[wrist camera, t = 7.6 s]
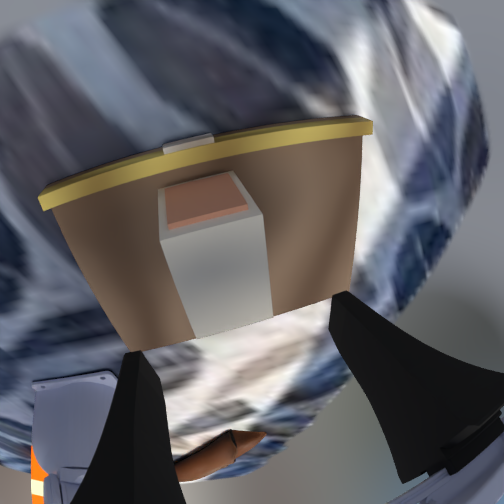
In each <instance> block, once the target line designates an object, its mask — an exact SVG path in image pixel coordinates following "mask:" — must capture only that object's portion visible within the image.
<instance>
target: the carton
mask: <svg viewBox="0 0 504 504" xmlns="http://www.w3.org/2000/svg"><path fill="white" fill-rule="evenodd" d="M158 215H159V238H160V243H161V246H162V249H163V252H164V255H165V258H166V261H167V264H168V266H169V269H170V272H171V275H172V277H173V280H174V283H175V286H176V288H177V291H178V293H179V296H180V299H181V301H182V304H183V306H184V309H185V312H186V314H187V317H188V319H189V322H190V324H191V327H192V329H193V331H194V334H195V336H196V339H199V338H203V337H207V336H211V335H214V334H218V333H222V332H225V331H229V330H232V329H236V328H239V327H243V326H246V325H250V324H253V323H257V322H260V321H263V320H266V319H270V318H273V309H272V299H271V289H270V278H269V269H268V259H267V249H266V239H265V230H264V220H263V214H262V212H261V211H260V209H259V208H258V206H257V205H256V203H255V202H254V200H253V199H252V197H251V196H250V195H249V193H248V192H247V190H246V189H245V187H244V186H243V184H242V183H241V181H240V180H239V178H238V177H237V176H236V174H235V173H234V171H228V172H224V173H220V174H215V175H211V176H207V177H203V178H199V179H195V180H191V181H187V182H183V183H179V184H175V185H171V186H167V187H164V188H160V189H158Z"/></svg>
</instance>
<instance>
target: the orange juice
mask: <svg viewBox="0 0 504 504" xmlns="http://www.w3.org/2000/svg"><path fill="white" fill-rule="evenodd" d="M48 475H49V474H47V473H46V472H45V471H44V470H43V469H42V468H41V467H40V465H39V464H38V462H37V460H36V458H35V455H34V452H33V447H32V449H31V488H32V500H33V504H44V499H43V482H44V478H45V477H47V476H48Z"/></svg>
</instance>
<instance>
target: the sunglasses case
mask: <svg viewBox="0 0 504 504" xmlns="http://www.w3.org/2000/svg"><path fill="white" fill-rule="evenodd" d="M266 434H267V433H266V432H250V431H238V430H231V429H230V431H229V432H228V433H225V434H223V435H222V436H221V437H219V438H218V439H217V440H215V441H214V442H212V443H211V444H210V445H209V446H207V447H205V448H204V449H203V450H202V451H199V452H197V453H195V454H193V455H191V456H190V457H188V458H187V459H184V460H182V461H180V462H178V463H176V464H174V466H175V470H176V474H177V477H178V480H179V482H185V481H186V482H187V481H192V480H197V479H200V478H202V477H205V476H208V475H210V474H212V473H214V472H215V471H217V470H219V469H221V468H225V467H227V466H228V465H229V464H232V463H234V462H235V461H236V460H235V459H236V458H237V457H239V456H241V455H242V454H244V453H245V452H247V451H248V450H250V449H251V448H253V447H254V446H255V445H256V444H258V443H259V442H260V441H261V440H262V439H263V438H264V437H265V435H266Z"/></svg>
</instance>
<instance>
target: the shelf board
mask: <svg viewBox="0 0 504 504" xmlns="http://www.w3.org/2000/svg"><path fill="white" fill-rule="evenodd" d="M372 132H373V121H371V120H369V119H366V118H363V117H361V116H358V115H352V116H339V117H327V118H317V119H308V120H300V121H292V122H285V123H278V124H271V125H264V126H258V127H252V128H247V129H241V130H236V131H230V132H225V133H220V134H215V135H212V134H211V133H209V134H204V135H200V136H195V137H191V138H187V139H182V140H178V141H174V142H170V143H166V144H163V147H160V148H157V149H153V150H149V151H146V152H142V153H139V154H135V155H132V156H129V157H125V158H122V159H119V160H116V161H112V162H109V163H106V164H103V165H100V166H97V167H94V168H91V169H89V170H86V171H83V172H80V173H77V174H75V175H72V176H69V177H67V178H64V179H61V180H59V181H56V182H54V183H51V184H49V185H47V186H46V187H45V188H44V190H43V191H42V192H41V194H40V195H39V196H38V199H39V202H40V204H41V206H42V209H43V211H45V210H48V209H50V208H51V209H52V211H53V213H54V216H55V218H56V220H57V222H58V225H59V227H60V229H61V231H62V233H63V235H64V238H65V240H66V242H67V244H68V246H69V248H70V250H71V252H72V254H73V256H74V258H75V260H76V262H77V264H78V266H79V267H80V269H81V271H82V273H83V275H84V277H85V279H86V280H87V282H88V284H89V286H90V288H91V289H92V291H93V293H94V295H95V296H96V298H97V300H98V302H99V303H100V305H101V307H102V308H103V310H104V312H105V313H106V315H107V316H108V318H109V320H110V321H111V323H112V324H113V326H114V328H115V329H116V331H117V332H118V334H119V335H120V337H121V338H122V340H123V341H124V343H125V344H126V346H127V347H128V349H129V350H130V352H134V351H138V350H141V352H142V351H146V350H151V349H155V348H159V347H163V346H168V345H172V344H176V343H180V342H184V341H188V340H192V339H195V338H196V336H195V334H194V331H193V329H192V327H191V324H190V322H189V319H188V317H187V314H186V312H185V309H184V306H183V304H182V301H181V299H180V296H179V293H178V291H177V288H176V286H175V283H174V280H173V277H172V275H171V272H170V269H169V266H168V264H167V261H166V258H165V255H164V252H163V249H162V246H161V243H160V238H159V215H158V189H160V188H164V187H167V186H171V185H175V184H179V183H183V182H187V181H191V180H195V179H199V178H203V177H207V176H211V175H215V174H220V173H224V172H228V171H234V173H235V174H236V176H237V177H238V178H239V180H240V181H241V183H242V184H243V186H244V187H245V189H246V190H247V192H248V193H249V195H250V196H251V197H252V199H253V200H254V202H255V203H256V205H257V206H258V208H259V209H260V211H261V212H262V214H263V220H264V230H265V239H266V249H267V259H268V269H269V278H270V289H271V299H272V309H273V316H276V315H280V314H283V313H286V312H289V311H292V310H295V309H299V308H302V307H305V306H308V305H311V304H314V303H317V302H320V301H323V300H326V299H329V298H332V295H334V294H337V293H340V292H343V291H346V290H347V291H348V292H349V288H350V281H351V274H352V266H353V258H354V250H355V241H356V231H357V221H358V210H359V197H360V182H361V163H362V135H371V134H372Z"/></svg>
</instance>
